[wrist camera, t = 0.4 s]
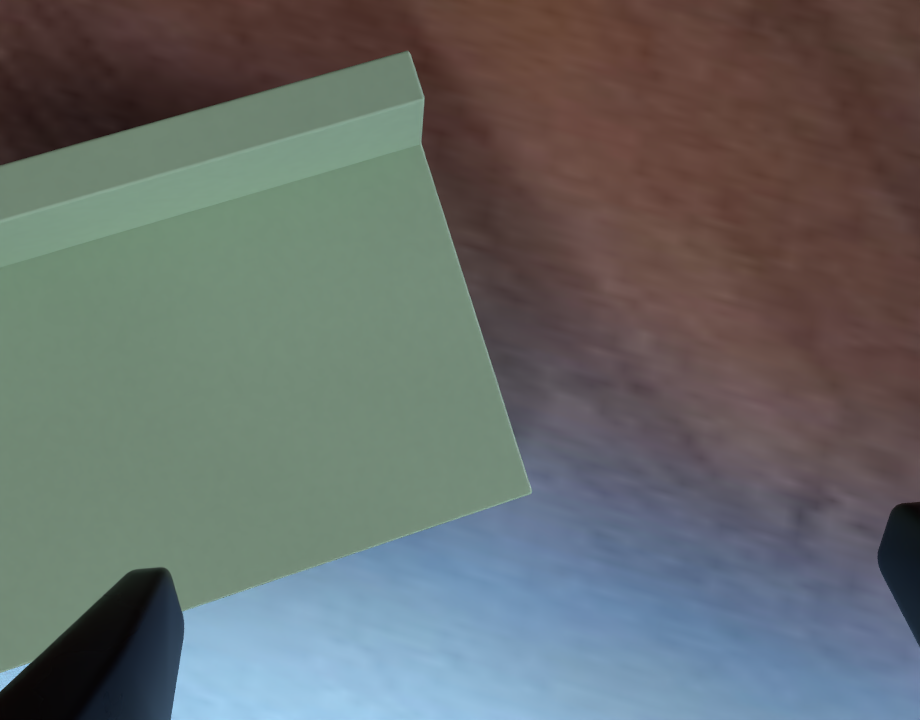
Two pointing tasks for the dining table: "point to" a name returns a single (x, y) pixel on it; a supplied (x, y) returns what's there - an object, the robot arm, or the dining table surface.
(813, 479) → the dining table surface
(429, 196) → the mint green bench
